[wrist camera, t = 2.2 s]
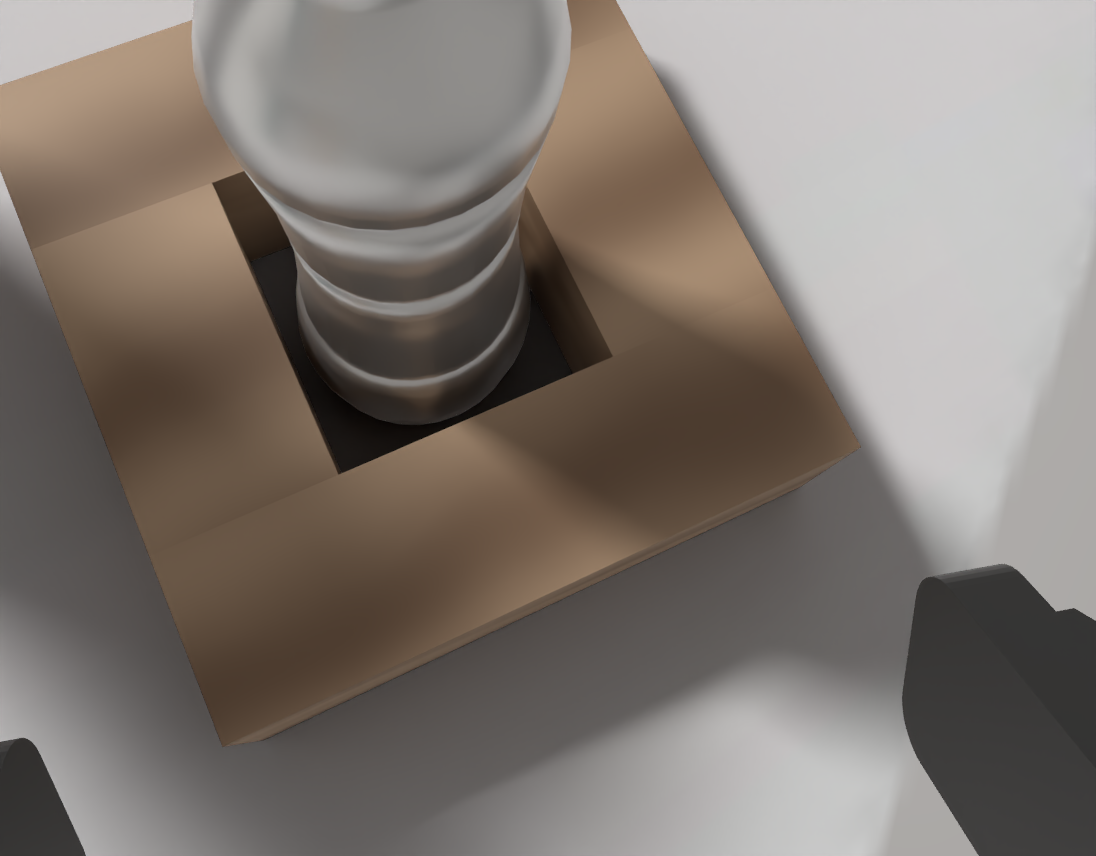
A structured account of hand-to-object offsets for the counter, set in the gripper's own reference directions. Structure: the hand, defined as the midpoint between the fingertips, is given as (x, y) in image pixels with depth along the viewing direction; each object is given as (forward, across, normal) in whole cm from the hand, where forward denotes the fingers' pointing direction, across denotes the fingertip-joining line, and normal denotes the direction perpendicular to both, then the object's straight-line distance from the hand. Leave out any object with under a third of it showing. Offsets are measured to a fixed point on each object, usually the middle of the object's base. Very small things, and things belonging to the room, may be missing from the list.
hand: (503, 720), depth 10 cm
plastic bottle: (+22, 0, +7) cm, 23 cm away
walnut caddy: (+22, 0, +6) cm, 23 cm away
